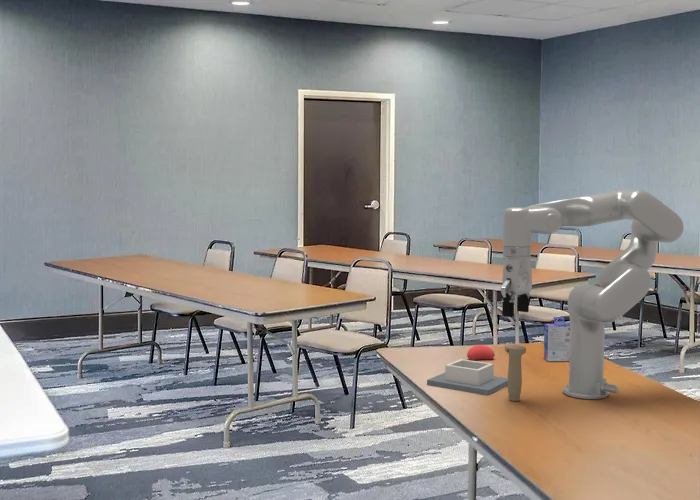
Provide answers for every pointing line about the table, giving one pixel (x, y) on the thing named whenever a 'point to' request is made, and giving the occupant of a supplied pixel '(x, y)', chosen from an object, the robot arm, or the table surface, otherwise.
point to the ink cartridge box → (557, 341)
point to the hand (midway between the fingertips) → (515, 314)
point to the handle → (514, 371)
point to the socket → (469, 377)
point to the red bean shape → (480, 353)
